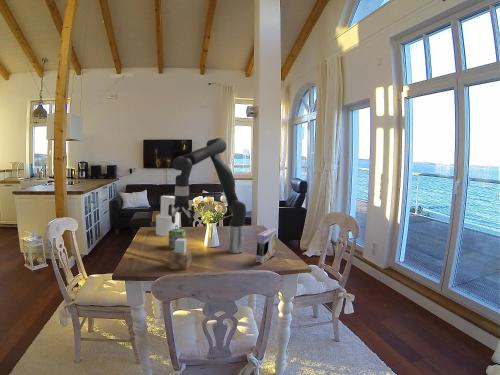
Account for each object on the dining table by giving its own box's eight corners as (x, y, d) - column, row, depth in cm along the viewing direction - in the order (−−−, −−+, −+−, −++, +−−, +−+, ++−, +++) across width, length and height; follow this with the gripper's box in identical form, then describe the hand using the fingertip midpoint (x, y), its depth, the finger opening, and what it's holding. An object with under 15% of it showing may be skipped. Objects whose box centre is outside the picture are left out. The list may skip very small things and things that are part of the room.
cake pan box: (261, 265, 189) (263, 235, 187) (254, 263, 191) (255, 233, 189) (275, 256, 205) (277, 229, 203) (268, 255, 208) (270, 228, 206)
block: (186, 251, 182) (186, 238, 181) (183, 253, 177) (184, 241, 176) (177, 250, 182) (178, 238, 182) (175, 253, 177) (175, 240, 177)
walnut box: (191, 263, 185) (191, 250, 184) (186, 269, 175) (187, 255, 174) (174, 262, 186) (174, 248, 185) (168, 268, 176) (168, 254, 175)
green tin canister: (181, 249, 210) (182, 227, 208) (168, 248, 211) (168, 226, 209) (186, 245, 219) (186, 224, 218) (172, 244, 220) (173, 223, 218)
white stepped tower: (168, 229, 262) (169, 195, 259) (183, 233, 252) (184, 197, 249) (151, 233, 248) (151, 196, 245) (165, 237, 238) (166, 199, 235)
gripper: (196, 194, 179) (195, 222, 181) (171, 192, 180) (170, 221, 182) (193, 195, 172) (192, 225, 174) (166, 194, 173) (166, 224, 174)
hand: (181, 223), depth 178 cm, fingers open, 8 cm apart
